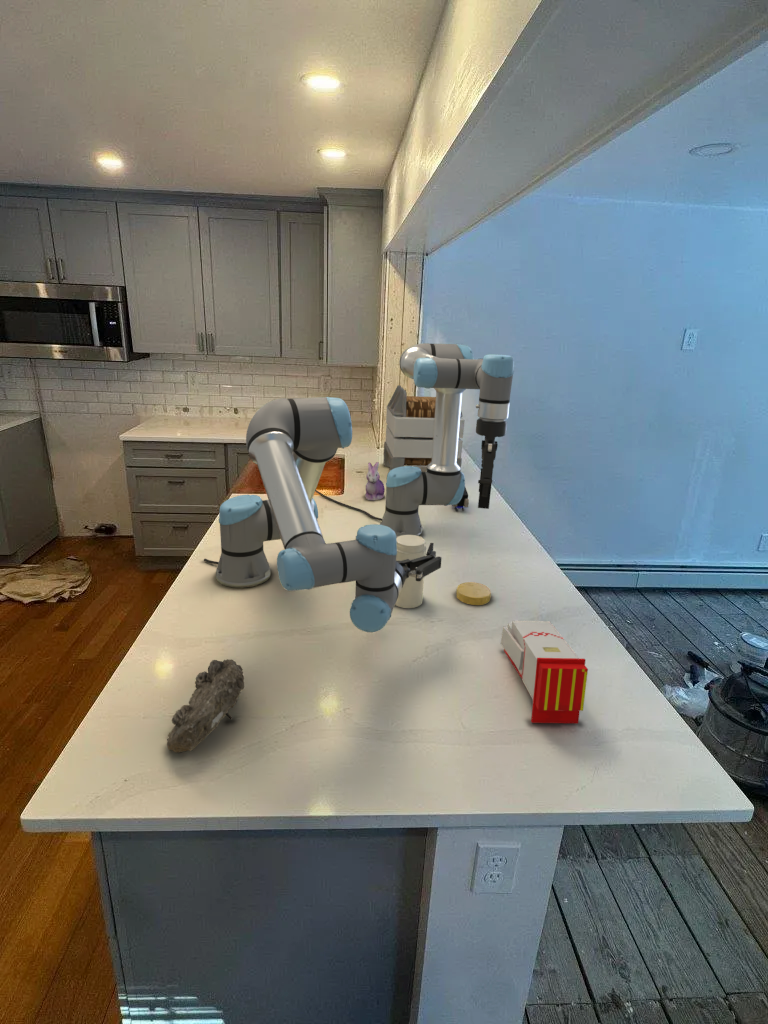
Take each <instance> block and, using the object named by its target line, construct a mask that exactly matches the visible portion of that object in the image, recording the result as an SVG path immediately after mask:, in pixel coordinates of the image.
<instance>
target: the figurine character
mask: <svg viewBox="0 0 768 1024" xmlns="http://www.w3.org/2000/svg"><path fill="white" fill-rule="evenodd" d="M469 505H470V500H469V492H468V490H467V488H466V486H465V488H464V493H463V496H462V498H461V500H460V502H459V503H458V504H456V505H451V506H452V507H453V508H454V511H456V512H457V511H458V509H461V511H462V512H464V511H465V508H469Z"/></svg>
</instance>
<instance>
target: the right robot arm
mask: <svg viewBox="0 0 768 1024" xmlns="http://www.w3.org/2000/svg"><path fill="white" fill-rule="evenodd" d="M474 356H475V355H474V352H473V350H472V348H471V347H470V346H469V345H467V344H458V343H429V342H423V343H417V344H414V345H411V346H408V347H407V348H406V349H405V350H404V351H403V352H402V353H401V355H400V357H399V361H398V362H399V369H400V371H401V372H402V373H403V375H404V376H405V377H407V378H409V379H411V380H413V383H414V385H415V386H416V387H417V388H422V389H434V390H435V397H436V404H435V418H434V433H433V447H432V461H431V463H430V464H428V465H427V466H426V471H422V469H421V467H420V466H407V465H404V466H403V467H397V468H394V469H392V470H391V471H390V470H388V473H387V475H386V480H385V481H386V482H385V487H386V488H385V504H384V505H385V507H384V508H385V509H384V513H383V515H382V518H380V517H378V516H377V517H376V516H375V515H372V514H370V513H369V512H367V511H365V510H364V509H361V508H358V507H355V506H352V505H349V504H346V503H343V502H341V501H338V500H335V499H334V498H331V497H328V496H327V495H325V494H323V493H321V492H320V491H319V490H317V489H316V490H315V493H316V494H318V495H320V496H321V497H323V498H325V499H327V500H328V501H331V502H333V503H335V504H338V505H341V506H344V507H345V508H348V509H352V510H355V511H358V512H360V513H364V514H365V515H367V516H368V517H370V518H372V519H373V520H377V521H380V522H379V525H384V526H387V527H389V528H391V529H392V530H393V531H394V532H395V533H396V538H397V537H399V536H402V535H416V536H419V537H422V535H423V531H424V526H423V525H422V524H421V518H420V515H419V507H420V506H445V507H446V506H447V507H448V506H452V505H456V504H458V503H459V502H460V500H461V498H462V496H463V493H464V488H465V487H466V482H465V481H466V477H465V474H464V472H462V471H461V472H460V467H459V466H458V465H457V451H458V439H459V426H460V414H461V412H462V403H463V402H462V401H463V393H464V391H466V390H479V393H478V394H479V397H478V404H476V405H475V408H476V409H477V417H478V418H477V419H476V423H475V424H476V426H475V433H476V434H477V435H478V436H481V437H484V439H483V440H481V448H480V449H481V459H482V460H481V465H480V466H481V468H480V475H479V479H478V480H477V483H478V484H479V485H478V492H479V494H478V502H477V503H478V504H477V508H478V509H484V510H489V509H490V502H491V501H490V500H491V494H492V486H493V485H492V483H493V472H494V467H495V464H494V462H495V460H496V456H497V451H498V445H499V444H498V441H496V438H502V437H505V436H506V434H507V428H508V422H507V419H509V415H510V414H509V413H510V404H511V403H510V401H511V392H512V384H513V377H514V373H515V359H514V357H513V355H512V356H511V355H508V354H507V355H506V354H494V353H493V354H492V353H491V354H485V355H484V356H483V358H475V357H474Z"/></svg>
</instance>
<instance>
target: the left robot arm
mask: <svg viewBox="0 0 768 1024" xmlns="http://www.w3.org/2000/svg"><path fill="white" fill-rule="evenodd" d="M352 441H353V424H352V418H351V413H350V409H349V407H348V405H347V403H346V402H345V400H343V399H342V398H340V397H329V396H325V397H323V396H322V397H321V396H320V397H297V398H294V397H293V398H286V397H285V398H282V397H281V398H276V399H272V400H271V401H268V402H266V403H265V404H263V405H262V406H261V407H259V409H257V410H256V412H255V413H254V415H253V416H252V417H251V419H250V421H249V423H248V426H247V430H246V435H245V444H246V445H245V446H246V450H247V452H248V453H247V454H248V456H249V458H250V460H251V461H252V463H254V464H255V465H257V468H258V471H259V474H260V477H261V481H262V484H263V487H264V490H265V493H266V496H267V499H264V500H263V499H262V497H261V496H259V495H256V494H242V495H241V494H240V495H237V496H233V497H231V498H228V499H226V500H225V501H224V502H222V503H221V504H220V506H219V509H218V510H219V512H218V514H219V515H218V523H219V534H220V535H219V536H220V556H219V560H218V561H216V560H210V559H207V558H204V559H203V561H204V562H206V563H208V564H212V565H217V567H216V570H215V579H216V580H217V582H218V583H219V584H220V585H222V586H225V587H228V588H233V589H234V588H235V589H244V588H245V589H246V588H251V587H256V586H259V585H262V584H264V583H265V582H267V581H268V580H269V579H270V578H271V575H272V574H271V566H270V563H269V562H268V561H269V560H268V559H267V556H266V553H265V551H264V542H270V541H276V540H277V541H278V540H281V543H282V546H283V549H282V550H280V551H279V552H278V554H277V557H276V568H277V569H276V570H277V572H278V580H279V582H280V585H281V587H282V588H283V589H284V590H286V591H287V592H289V591H290V592H292V591H294V592H295V591H305V590H312V589H315V588H316V589H317V588H319V587H326V586H331V585H337V584H345V583H350V582H351V583H352V582H355V591H354V593H355V595H354V599H353V600H352V602H351V604H350V608H349V618H350V621H351V622H352V624H353V626H355V627H356V628H357V629H358V630H360V631H362V632H366V633H377V632H379V631H381V630H382V629H384V628H385V626H386V625H387V623H388V622H389V620H390V619H391V617H392V613H393V610H394V608H395V606H396V605H395V603H396V601H397V599H398V596H399V594H400V592H401V589H402V587H403V585H404V583H405V580H406V579H407V578H409V576H410V577H415V578H416V581H421V580H422V578H423V577H424V578H425V577H427V576H429V575H431V574H432V573H434V572H437V571H438V570H440V569H441V568H442V559H443V558H442V556H437V551H435V550H434V546H435V545H434V542H429V545H428V548H427V550H426V556H423V557H420V558H416V559H413V560H409V559H406V560H402V561H396V555H397V541H396V533H395V532H394V531H393V530H392V529H391V528H389V527H387V526H384V525H380V524H377V523H371V524H365V525H364V526H360V527H359V528H358V530H357V531H356V536H355V539H352V540H351V539H350V540H345V541H343V540H342V541H337V542H328V543H327V542H326V541H325V537H324V535H323V533H322V530H321V528H320V524H319V522H318V519H319V509H318V508H319V507H318V505H317V501H316V500H315V499H314V495H315V493H316V492H315V490H317V487H318V484H319V482H320V479H321V477H322V473H323V471H324V468H325V465H326V463H327V462H330V461H331V460H332V459H333V458H334V457H335V456H336V454H337V451H338V449H345V448H348V447H350V446H351V444H352Z"/></svg>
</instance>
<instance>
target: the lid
mask: <svg viewBox="0 0 768 1024" xmlns="http://www.w3.org/2000/svg"><path fill="white" fill-rule="evenodd" d="M455 593H456V596H455V597H456V598H457V599H458V600H459V601H460V602H461V603H464V604H467V605H471V606H483V605H486V604H488V603H489V602H490V601H491V598H492V590H491V588H489V586H487V585H485V584H483V583H480V582H475V581H466V582H461V583H460V584H458V585H457V587H456V591H455Z"/></svg>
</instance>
